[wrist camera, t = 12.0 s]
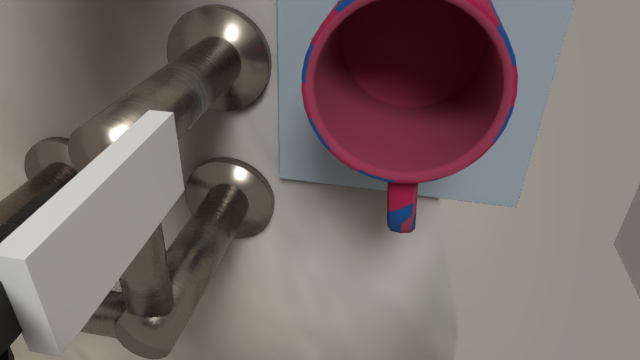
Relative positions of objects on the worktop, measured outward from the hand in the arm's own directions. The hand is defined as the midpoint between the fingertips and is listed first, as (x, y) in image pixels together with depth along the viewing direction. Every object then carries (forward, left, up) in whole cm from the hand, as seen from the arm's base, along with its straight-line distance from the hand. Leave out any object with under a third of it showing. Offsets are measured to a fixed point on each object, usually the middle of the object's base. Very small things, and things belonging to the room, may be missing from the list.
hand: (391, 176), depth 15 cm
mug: (0, 0, -10) cm, 10 cm away
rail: (+4, -14, -10) cm, 18 cm away
